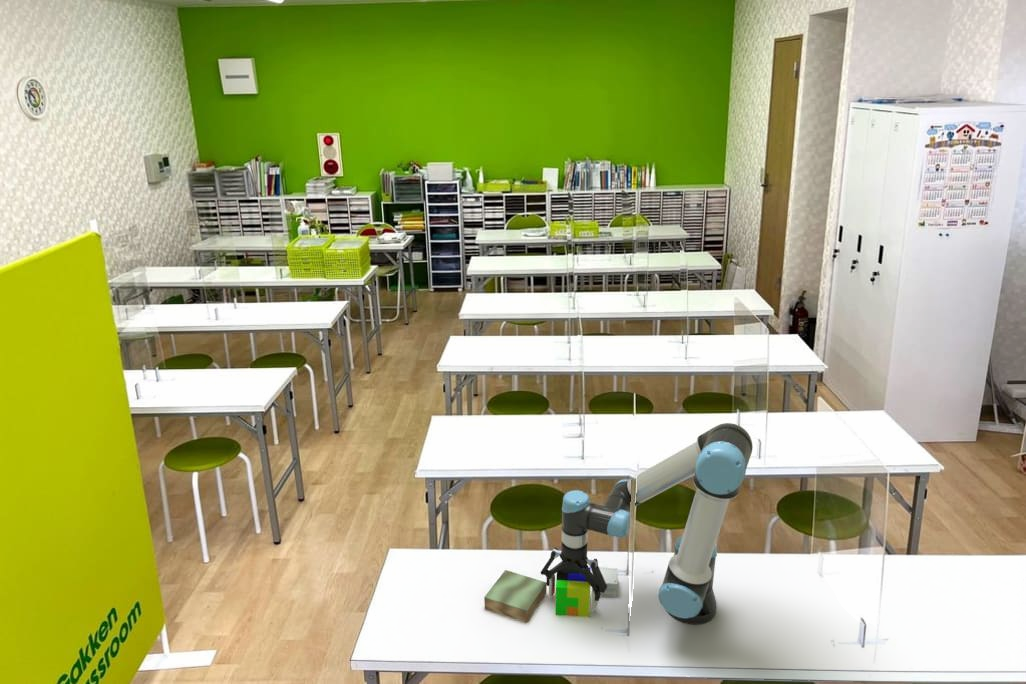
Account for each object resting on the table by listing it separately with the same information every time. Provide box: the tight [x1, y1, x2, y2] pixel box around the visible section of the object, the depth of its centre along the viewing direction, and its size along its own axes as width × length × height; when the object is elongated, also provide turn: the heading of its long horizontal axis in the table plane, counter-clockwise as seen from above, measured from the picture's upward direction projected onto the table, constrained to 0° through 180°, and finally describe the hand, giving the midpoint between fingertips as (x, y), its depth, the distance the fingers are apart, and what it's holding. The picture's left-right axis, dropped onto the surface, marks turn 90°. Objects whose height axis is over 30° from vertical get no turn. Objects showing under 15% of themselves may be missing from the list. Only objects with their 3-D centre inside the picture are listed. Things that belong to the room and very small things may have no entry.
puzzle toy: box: [554, 566, 592, 618], centre depth 228 cm, size 10×10×10 cm
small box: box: [591, 566, 619, 598], centre depth 236 cm, size 8×8×5 cm
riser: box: [483, 569, 548, 624], centre depth 230 cm, size 14×14×4 cm
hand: (572, 601), depth 229 cm, fingers open, 13 cm apart
